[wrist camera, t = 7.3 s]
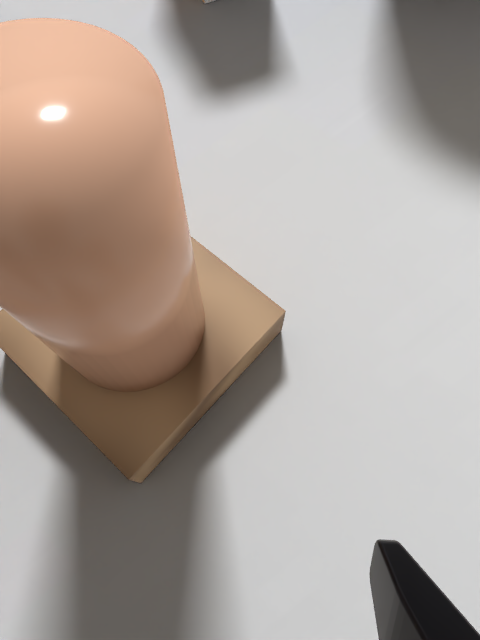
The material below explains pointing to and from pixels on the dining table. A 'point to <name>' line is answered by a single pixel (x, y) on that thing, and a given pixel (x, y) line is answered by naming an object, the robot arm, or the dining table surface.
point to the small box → (207, 1)
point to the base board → (165, 399)
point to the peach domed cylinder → (93, 206)
